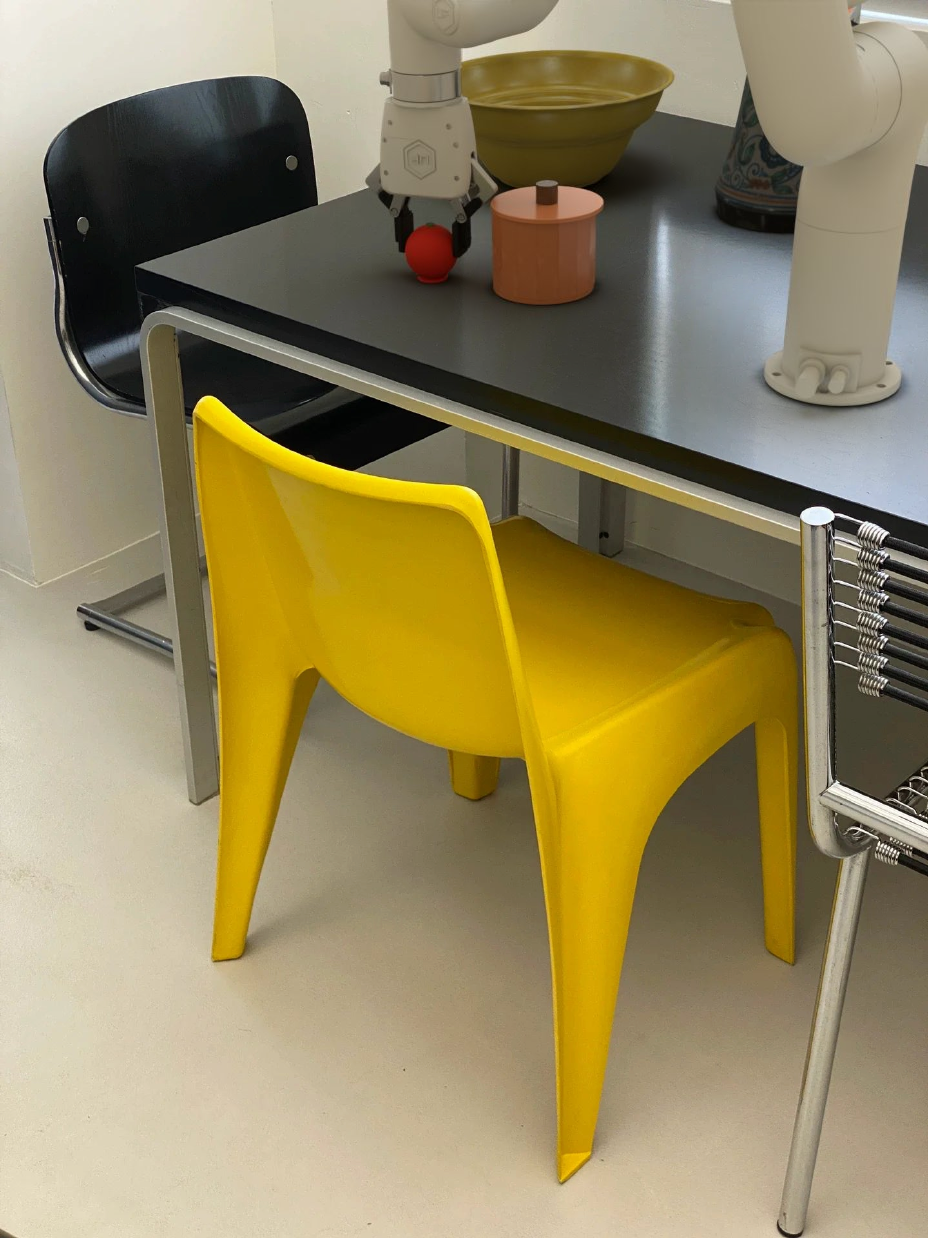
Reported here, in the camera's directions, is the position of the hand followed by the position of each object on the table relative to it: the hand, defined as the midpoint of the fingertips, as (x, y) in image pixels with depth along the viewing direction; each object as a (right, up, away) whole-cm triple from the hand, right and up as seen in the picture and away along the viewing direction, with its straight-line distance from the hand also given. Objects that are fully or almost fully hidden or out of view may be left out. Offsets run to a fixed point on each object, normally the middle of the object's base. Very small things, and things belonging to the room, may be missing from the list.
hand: (433, 249), depth 161 cm
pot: (+12, -5, -2) cm, 13 cm away
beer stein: (+44, +9, +17) cm, 48 cm away
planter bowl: (+15, +18, +33) cm, 41 cm away
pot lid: (+12, +3, -7) cm, 15 cm away
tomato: (0, -3, +1) cm, 3 cm away
